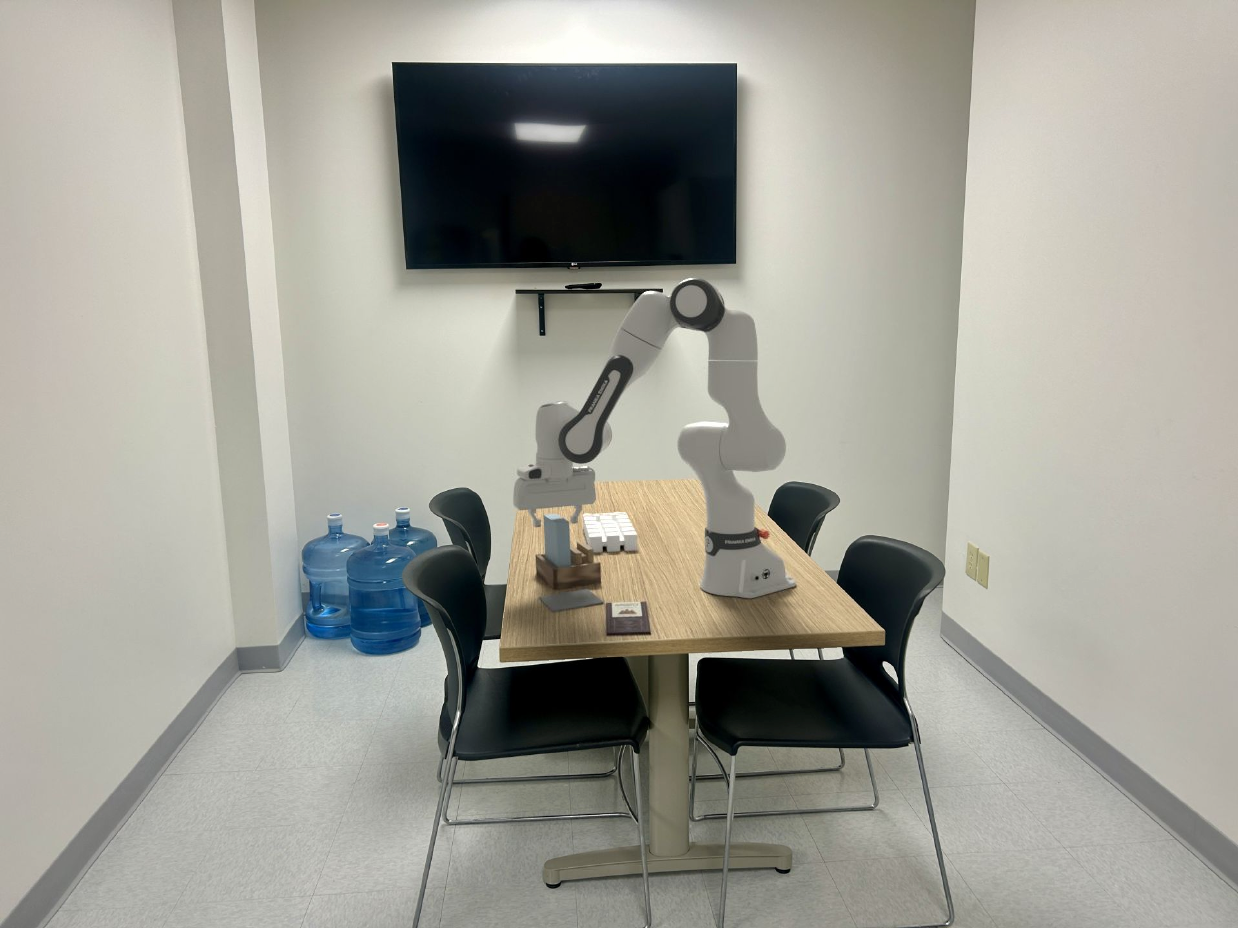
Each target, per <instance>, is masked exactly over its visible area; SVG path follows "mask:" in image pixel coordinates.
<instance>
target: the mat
mask: <svg viewBox="0 0 1238 928" xmlns="http://www.w3.org/2000/svg"><path fill="white" fill-rule="evenodd" d="M538 599H539V600H540V601H541V602H542V603H543V604H544V605H545V606H546V607H547V608H548V609H549V610H550V611H551V612H552V613H554V612H555V613H556V612H562V611H567V610H572V609H579V608H585V607H591V606H596V605H602V604H604V603H605V602H604V601H603V600H602V599H600V597H598V596H597V595H596V594H595V593H593V591H591V590H590V589H589V588H585V589H579V590H571V591H566V592H561V593H560V592H559V593H555V594H548V595H542V596H538Z"/></svg>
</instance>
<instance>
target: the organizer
mask: <svg viewBox="0 0 1238 928" xmlns="http://www.w3.org/2000/svg"><path fill="white" fill-rule="evenodd" d="M582 525H583V526H582V529H583V532H584V535H585V539H586V544H587V545H588V546H590V547H591V548H593V552H594V553H603V551H604V550H603V547H605V548H606V551H607V552H608V553H609V552H620V551H621V546H622V548H623V549H624V552H627V551H630V552H631V551H638V534H637V532H636V529H635V528H634V526H633V523H631V520H630V518H629V516H628V514H627V512H624V511H623V512H620V511H615V512H607V513H606V512H603V513H589V512H588V513H586V512H585V513H583V514H582Z"/></svg>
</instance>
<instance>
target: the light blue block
mask: <svg viewBox="0 0 1238 928" xmlns="http://www.w3.org/2000/svg"><path fill="white" fill-rule="evenodd" d="M570 531H571V529H570V520H567V519H565V518H564V517H562V516H561V515H559V514H557V513H548V514H543V535H544V553H545V559H546V560H547V561H548V562H549V563H551V564H552V565H553V566H554V567H555V568H561V567H568V566H571V557H570V545H571V540H570V539H571V538H570V537H571V536H570V535H571V534H570V533H571V532H570Z"/></svg>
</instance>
